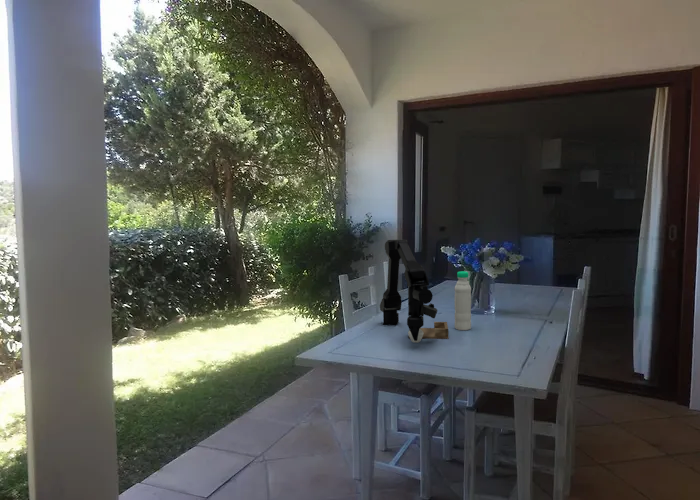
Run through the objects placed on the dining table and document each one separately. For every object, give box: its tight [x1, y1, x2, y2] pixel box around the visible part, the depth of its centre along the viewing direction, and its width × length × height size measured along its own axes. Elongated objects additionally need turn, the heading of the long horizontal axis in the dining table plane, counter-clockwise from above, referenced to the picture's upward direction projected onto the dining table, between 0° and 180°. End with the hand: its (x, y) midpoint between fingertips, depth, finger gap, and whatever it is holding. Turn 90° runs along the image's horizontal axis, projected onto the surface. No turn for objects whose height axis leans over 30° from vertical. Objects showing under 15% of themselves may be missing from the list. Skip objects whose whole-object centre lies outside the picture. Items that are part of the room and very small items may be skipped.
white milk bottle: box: [454, 270, 472, 331], centre depth 212 cm, size 7×7×25 cm
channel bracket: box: [408, 321, 449, 340], centre depth 206 cm, size 16×14×4 cm
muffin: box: [407, 329, 424, 344], centre depth 195 cm, size 6×6×7 cm
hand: (415, 337), depth 195 cm, fingers open, 8 cm apart
